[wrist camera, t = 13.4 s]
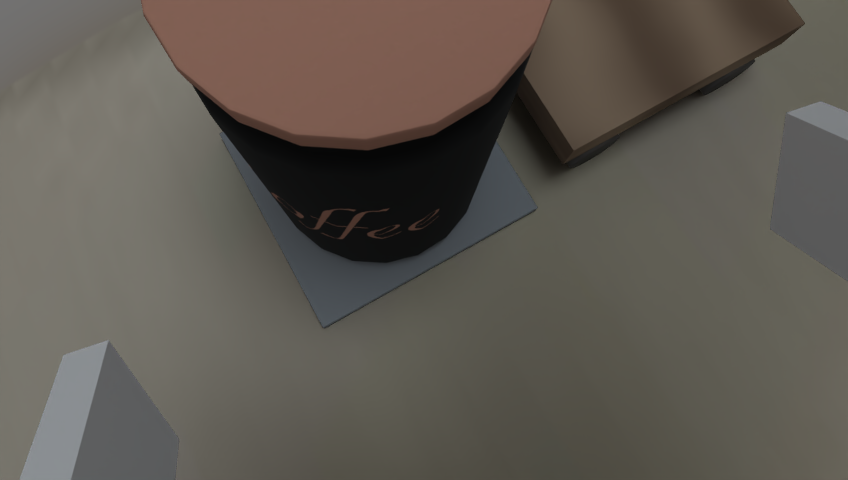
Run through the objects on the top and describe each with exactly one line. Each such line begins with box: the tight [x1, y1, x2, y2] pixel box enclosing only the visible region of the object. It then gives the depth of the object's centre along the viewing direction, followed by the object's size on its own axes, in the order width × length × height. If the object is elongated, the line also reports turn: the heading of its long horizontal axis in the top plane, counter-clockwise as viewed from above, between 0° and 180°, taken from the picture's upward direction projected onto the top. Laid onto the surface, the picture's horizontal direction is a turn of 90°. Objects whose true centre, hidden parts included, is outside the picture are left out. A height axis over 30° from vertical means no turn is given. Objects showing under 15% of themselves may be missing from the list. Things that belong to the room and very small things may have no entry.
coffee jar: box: [141, 0, 552, 263], centre depth 24 cm, size 11×11×18 cm
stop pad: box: [220, 132, 538, 328], centre depth 33 cm, size 13×12×1 cm
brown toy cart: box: [517, 0, 805, 168], centre depth 33 cm, size 14×10×5 cm
